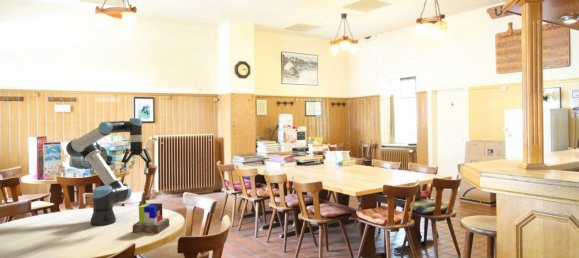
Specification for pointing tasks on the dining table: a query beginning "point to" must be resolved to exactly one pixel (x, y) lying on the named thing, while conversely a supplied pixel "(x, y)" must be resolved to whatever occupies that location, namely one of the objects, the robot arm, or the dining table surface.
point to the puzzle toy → (150, 213)
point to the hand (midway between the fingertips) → (137, 173)
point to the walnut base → (151, 227)
